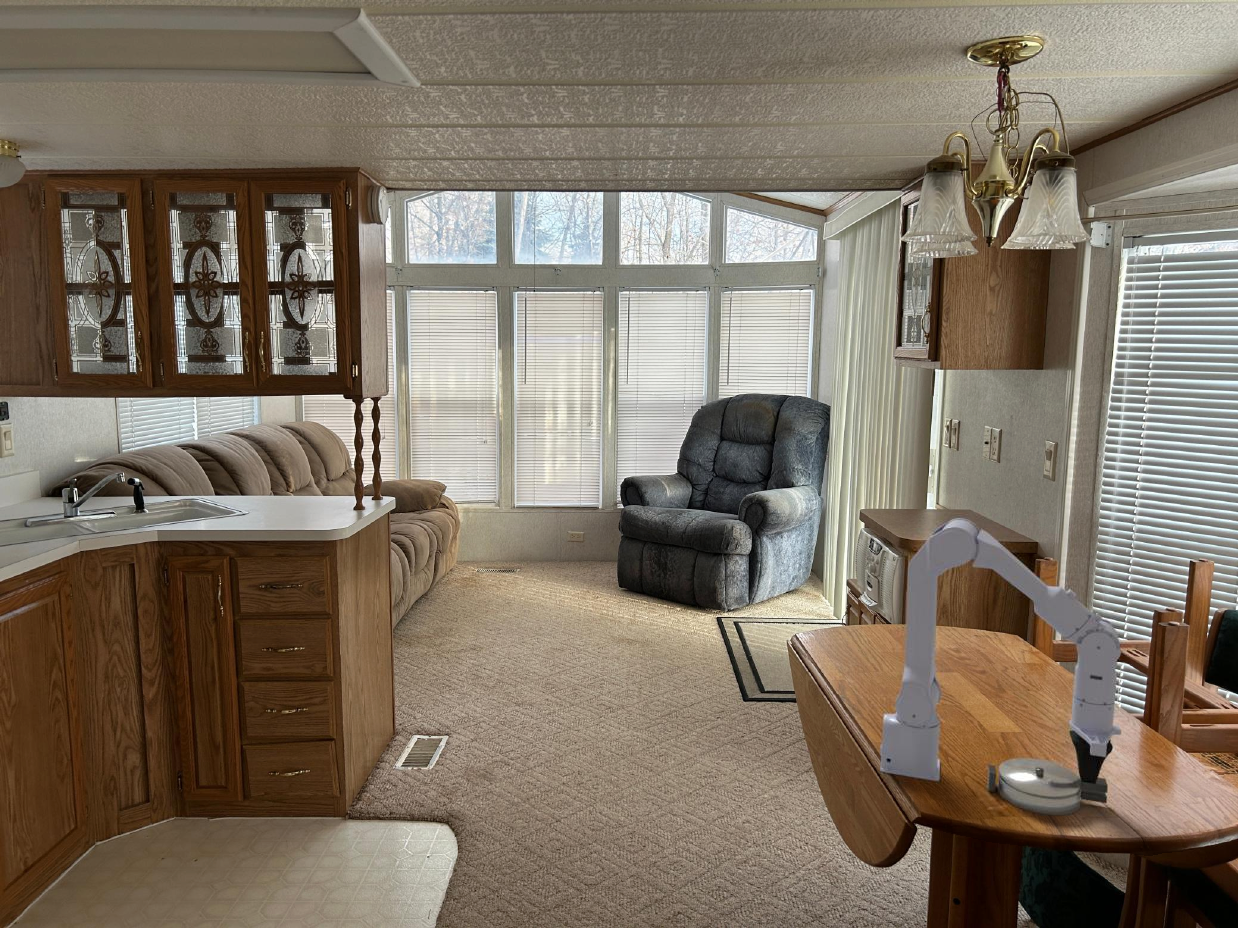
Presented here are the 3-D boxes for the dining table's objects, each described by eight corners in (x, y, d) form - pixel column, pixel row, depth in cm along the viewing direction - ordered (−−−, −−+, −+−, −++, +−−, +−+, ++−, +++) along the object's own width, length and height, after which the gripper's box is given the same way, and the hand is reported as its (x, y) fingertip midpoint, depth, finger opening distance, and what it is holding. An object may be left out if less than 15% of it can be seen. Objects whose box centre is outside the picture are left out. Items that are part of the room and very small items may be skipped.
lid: (1000, 790, 135) (1001, 780, 135) (996, 757, 146) (997, 747, 146) (1112, 807, 129) (1113, 796, 129) (1099, 772, 140) (1100, 761, 140)
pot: (989, 804, 136) (990, 785, 135) (986, 770, 147) (987, 753, 146) (1111, 825, 130) (1112, 805, 129) (1098, 788, 141) (1099, 770, 140)
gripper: (1132, 719, 126) (1125, 806, 128) (1114, 685, 139) (1108, 764, 141) (1078, 712, 128) (1072, 798, 130) (1066, 679, 142) (1060, 756, 144)
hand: (1087, 779), depth 136 cm, fingers closed, pressing on lid
